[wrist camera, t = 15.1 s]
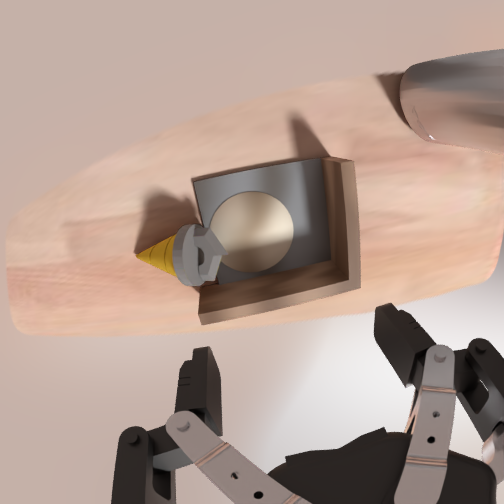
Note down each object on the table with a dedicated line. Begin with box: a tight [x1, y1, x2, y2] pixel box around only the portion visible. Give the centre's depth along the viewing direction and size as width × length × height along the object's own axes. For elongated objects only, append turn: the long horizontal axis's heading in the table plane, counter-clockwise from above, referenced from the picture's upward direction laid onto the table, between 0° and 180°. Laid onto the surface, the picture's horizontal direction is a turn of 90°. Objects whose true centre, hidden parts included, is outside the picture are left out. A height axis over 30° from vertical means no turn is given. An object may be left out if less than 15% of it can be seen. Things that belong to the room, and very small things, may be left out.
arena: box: [194, 156, 361, 325], centre depth 25 cm, size 15×12×5 cm
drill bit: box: [135, 224, 229, 286], centre depth 25 cm, size 5×5×10 cm
